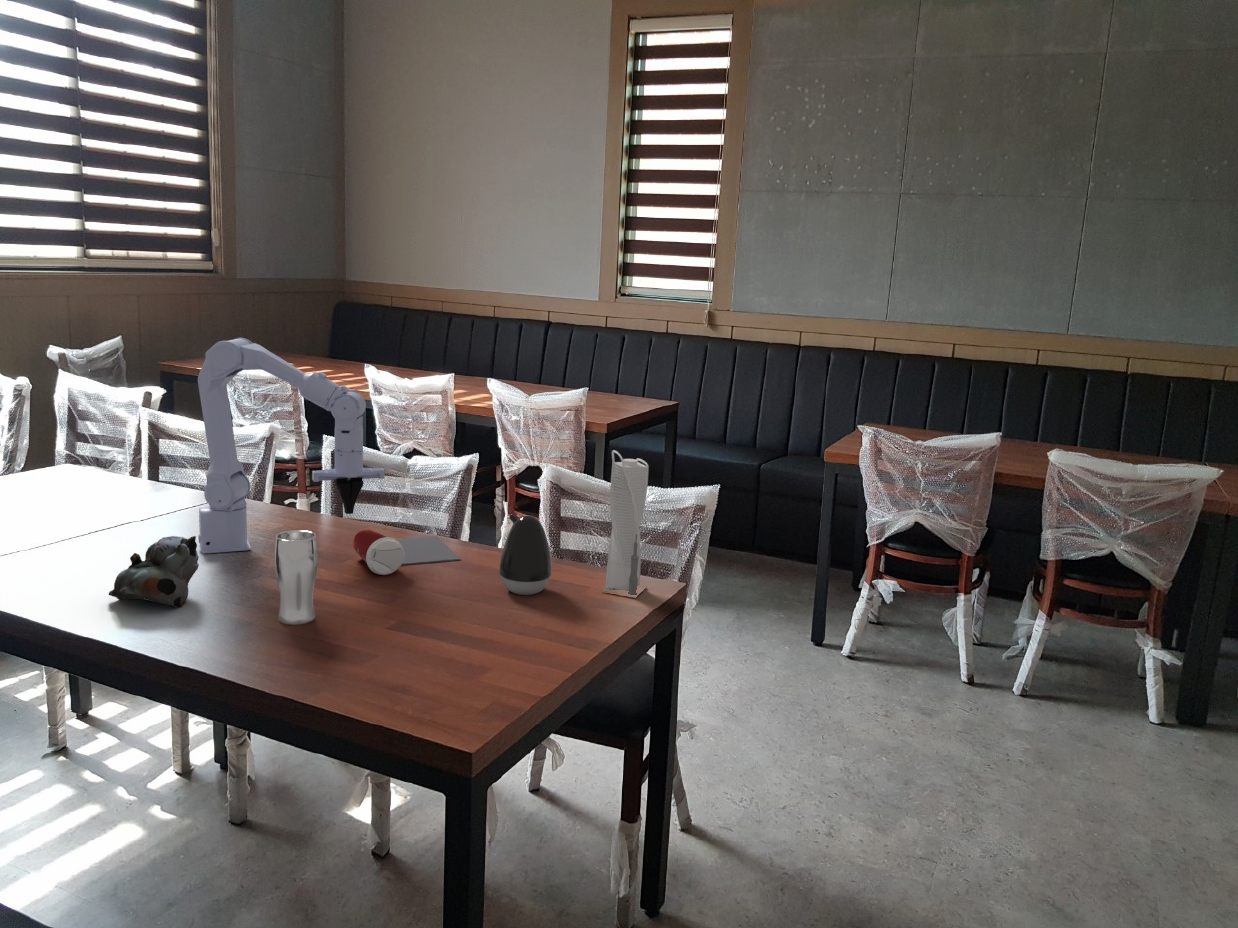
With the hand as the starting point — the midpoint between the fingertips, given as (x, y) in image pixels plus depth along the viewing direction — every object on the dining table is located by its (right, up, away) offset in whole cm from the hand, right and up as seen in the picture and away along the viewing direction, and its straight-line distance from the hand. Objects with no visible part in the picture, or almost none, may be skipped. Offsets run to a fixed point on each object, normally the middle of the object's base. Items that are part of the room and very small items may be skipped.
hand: (348, 512), depth 199 cm
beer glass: (+1, -17, -36) cm, 39 cm away
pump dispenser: (+39, -15, -14) cm, 44 cm away
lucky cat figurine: (-25, -14, -32) cm, 43 cm away
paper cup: (+4, -6, -1) cm, 7 cm away
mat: (+11, -9, +6) cm, 15 cm away
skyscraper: (+58, -15, -10) cm, 61 cm away
